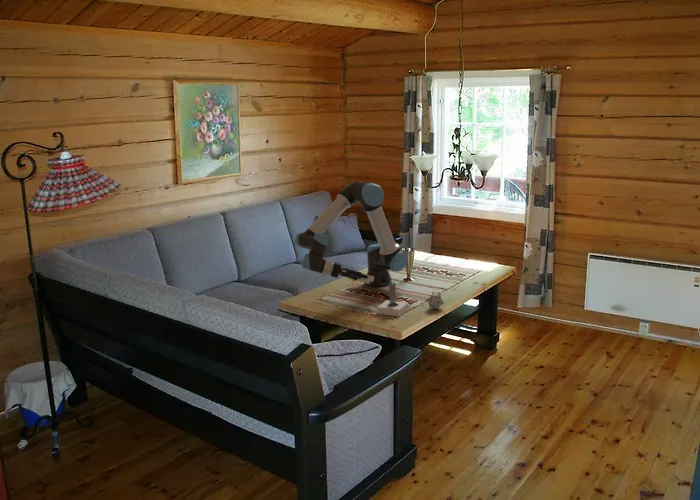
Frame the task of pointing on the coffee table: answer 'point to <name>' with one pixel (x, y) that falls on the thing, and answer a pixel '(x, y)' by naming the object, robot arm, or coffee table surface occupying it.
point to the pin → (392, 294)
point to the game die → (435, 301)
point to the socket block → (393, 308)
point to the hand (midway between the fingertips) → (371, 280)
